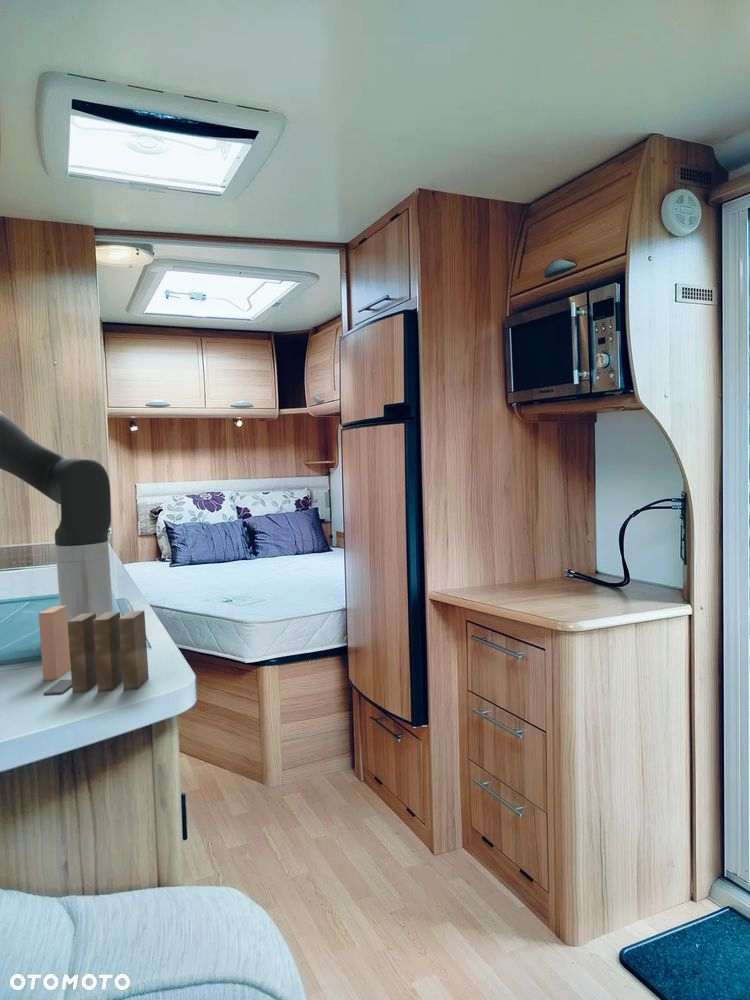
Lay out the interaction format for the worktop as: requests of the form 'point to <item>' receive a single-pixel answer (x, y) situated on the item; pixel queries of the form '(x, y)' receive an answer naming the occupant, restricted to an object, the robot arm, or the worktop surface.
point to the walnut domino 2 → (108, 651)
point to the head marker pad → (59, 687)
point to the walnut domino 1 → (82, 652)
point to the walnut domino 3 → (133, 649)
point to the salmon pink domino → (54, 642)
